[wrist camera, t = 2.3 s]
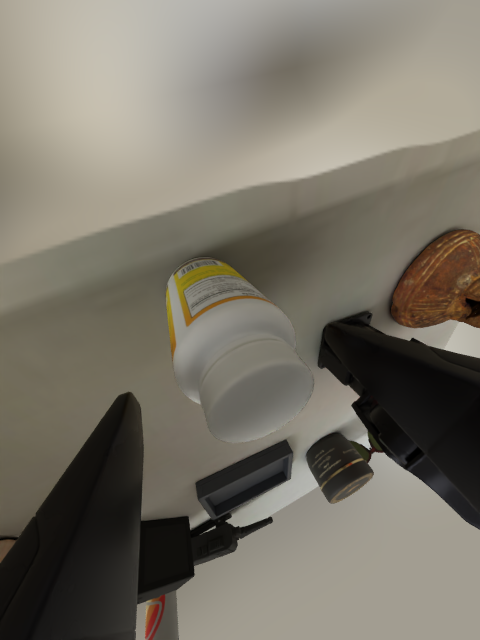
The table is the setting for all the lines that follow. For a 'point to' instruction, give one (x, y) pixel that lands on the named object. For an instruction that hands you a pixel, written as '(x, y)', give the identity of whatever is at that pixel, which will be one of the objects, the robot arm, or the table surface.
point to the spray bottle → (162, 618)
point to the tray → (245, 480)
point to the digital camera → (164, 557)
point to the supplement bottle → (233, 352)
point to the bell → (441, 283)
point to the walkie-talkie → (219, 538)
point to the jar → (338, 467)
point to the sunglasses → (363, 450)
